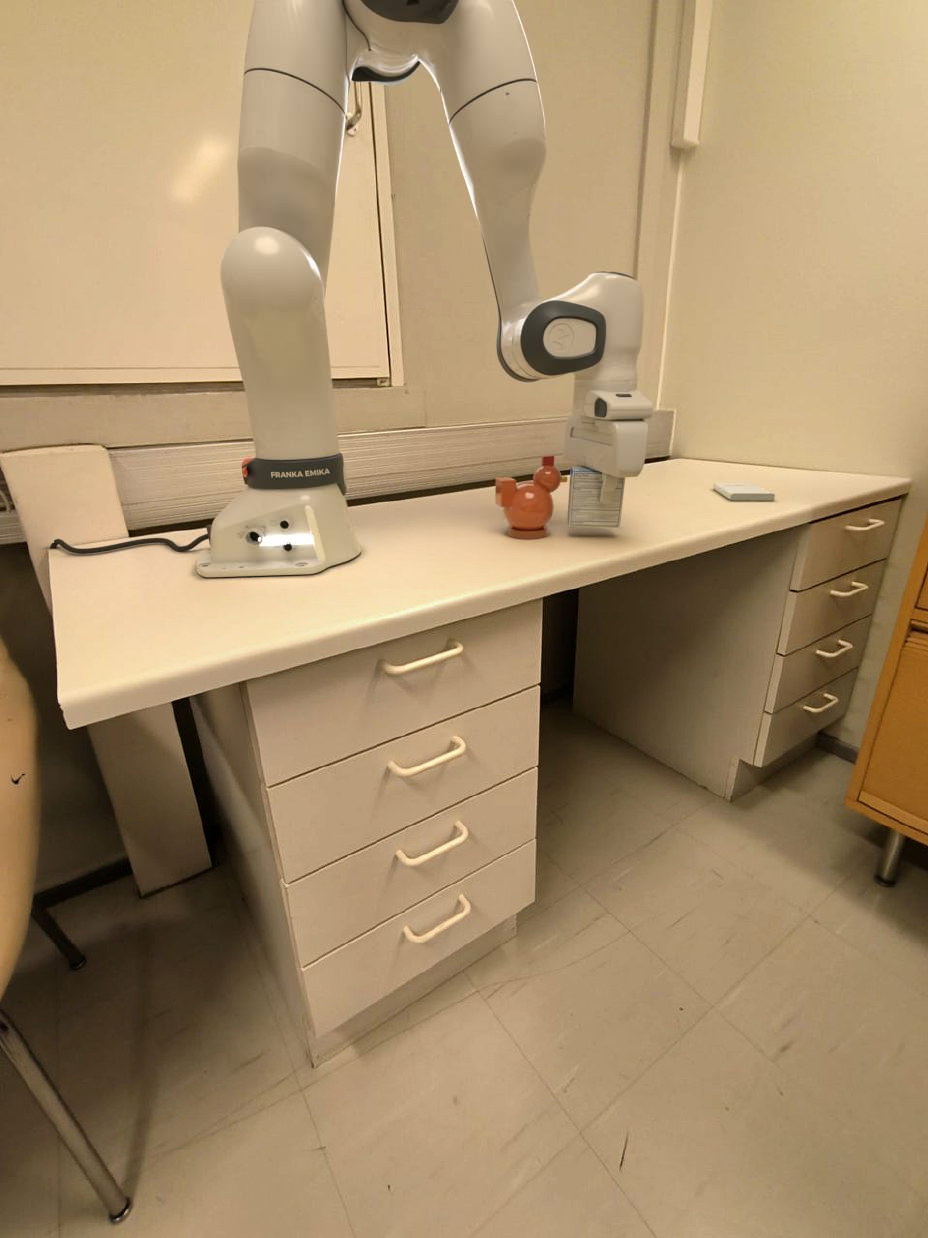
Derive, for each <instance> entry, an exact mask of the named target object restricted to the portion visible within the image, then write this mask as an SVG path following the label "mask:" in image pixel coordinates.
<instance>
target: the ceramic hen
mask: <svg viewBox="0 0 928 1238" xmlns="http://www.w3.org/2000/svg"><path fill="white" fill-rule="evenodd" d="M562 483H568V476H566V475H562V473H561V472H560V469H559V468H558V467H556V466H555V455H554V454H553V455H541V464H540V466H539V467H537V469H536V470H535V471H534V473H533V476H532V480H525V481H521V482H518V483H517V479H515V478H513V477H511V476H503V477H495V489H494V491H495V496H494V497H495V499H494V500H495V502H494V503H495V504H496V505H497V506H499V507H500V508H502V509H503V510H502V511H503V515H504V517H505V520H506V522H507V523H508V524H509V525H508V526H507V535H508V536H509V537H511V538H514V539H521V540H536V539H542V538H545V537H547V536H548V534H549V526H548V523H549V522H550V520H551V519H552V517H553V514H554V510H555V503H554V499H553V496H552V494H551V493H553V492H556V490H558V489H559V487H560V485H561V484H562Z"/></svg>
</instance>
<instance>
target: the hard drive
mask: <svg viewBox="0 0 928 1238" xmlns="http://www.w3.org/2000/svg"><path fill="white" fill-rule="evenodd" d="M712 488H713V490H715V492H717V493H719V494H720V495H721V496H723V497H724V498H727V499H728V500H729V501H732V502H773V501H775V497H776V493H774V492H772V491H769V490H767V489H766V488H763V487H761V486H759V485H757V484H756V483H753V482H714V483H713V487H712Z"/></svg>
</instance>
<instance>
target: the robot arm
mask: <svg viewBox="0 0 928 1238" xmlns="http://www.w3.org/2000/svg"><path fill="white" fill-rule="evenodd" d="M244 57H245V58H244V67H243V77H242V90H241V102H240V103H241V105H240V117H239V119H240V120H239V132H238V146H237V159H236V160H237V161H236V172H237V193H238V194H237V195H238V197H237V198H238V201H237V203H238V205H237V206H238V233H237V234H236V235H235V236H234V237H233V238H232V239H231V240H230V241H229V243H228V244H227V245H226V248H225V249H224V252H223V254H222V257H221V262H220V272H219V274H220V277H219V278H220V284H221V285H220V286H221V290H222V295H223V300H224V306H225V310H226V315H227V319H228V324H229V329H230V334H231V338H232V339H231V340H232V342H233V347H234V352H235V356H236V360H237V364H238V368H239V372H240V376H241V380H242V385H243V389H244V393H245V398H246V402H247V403H246V404H247V408H248V409H247V410H248V416H249V421H250V422H249V423H250V428H251V435H252V440H253V446H254V453H255V457H246V458H245V459H244V460H243V461H242V462H241V472H242V479H243V483H244V485H246V487H245V488H243V490H242V491H240V493H238V494H237V495H236V496H235V497H234V498H233V499H232V500H230V502H229V503H228V504H226V506H225V507H224V508H223V509H222V510H221V511H220V512H219V513H218V514H217V515H216V516H215V517H214V519H213V521H212V522H211V523H212V524H207V525H205V528H206V532H207V533H205V534H203V535H200V536H198V537H197V538H195V539H194V540H193V541H192V542H190V543H189V544H186V545H181V546H180V545H177V544H176V543H175V542H174V541H173V540H171V539H169V538H165V537H147V538H141V539H134V540H129V541H124V542H119V543H115V544H108V545H104V546H96V547H89V548H87V547H86V548H85V547H84V548H79V547H74V546H71V545H70V544H68V543H67V542H65V541H64V540H63V539H60V538H56V539H54V540H53V541H54V543H52V542H51V544H50V546H49V549H50V550H55V549H57V548H58V546H60V547H61V548H62V549H64V550H65V551H67V552H70V553H72V554H75V555H76V554H77V555H91V554H92V555H93V554H100V553H106V552H110V551H115V550H116V551H117V550H120V549H125V548H130V547H136V546H141V545H147V544H166V545H168V546H169V547H170V548H171V549H172V550H173V551H175V552H178V553H179V552H180V553H183V552H187V551H190V550H193V549H194V548H195V547H197V546H198V545H199V544H201V543H202V542H204V541H207V540H208V543H209V546H210V548H208V549H206V550H204V552H202V553H201V554H200V555H199V557H198V558H197V560H196V564H195V565H196V572H197V574H199V576H201V577H204V578H226V577H227V578H228V577H230V578H231V577H255V576H256V577H259V576H260V577H261V576H263V577H264V576H290V575H291V576H293V575H295V576H296V575H313V574H317V573H320V572H322V571H324V570H326V569H328V568H330V567H333V566H337V565H339V564H342V563H345V562H347V561H350V560H353V559H354V558H356V557H358V556H359V555H360V554H361V552H362V548H361V546H360V543H359V542H358V539H357V535H356V533H355V530H354V526H353V522H352V519H351V515H350V511H349V505H348V503H347V496H346V494H347V490H348V483H347V481H348V480H347V471H346V470H347V469H346V464H345V460H344V456H343V453H342V452H340V443H339V435H338V425H337V416H336V406H335V397H334V387H333V378H332V368H331V358H330V348H329V340H328V330H327V329H328V328H327V320H326V319H327V318H326V310H325V309H326V308H325V301H326V293H327V292H326V291H327V282H328V273H329V264H330V256H331V248H332V238H333V230H334V229H333V228H334V220H335V213H336V212H335V211H336V202H337V194H338V185H339V178H340V169H341V161H342V153H343V146H344V137H345V129H346V121H347V111H348V104H349V95H350V87H351V83H352V82H354V83H373V84H377V85H381V86H382V85H383V86H394V85H398V84H402V83H403V82H405V81H406V80H408V79H409V78H410V77H411V76H412V75H414V74H415V72H416V71H417V70H418V68H419V67H420V65H421V64H422V65H423V66H424V68H425V69H426V70H427V71H428V72H429V74H430V76H431V77H432V78H433V81H434V82H435V85H436V87H437V90H438V91H439V94H440V95H441V99H442V103H443V108H444V112H445V113H444V114H445V116H446V121H447V124H448V128H449V132H450V135H451V139H452V143H453V146H454V150H455V152H456V157H457V159H458V160H457V161H458V163H459V166H460V169H461V172H462V175H463V178H464V181H465V184H466V187H467V190H468V193H469V197H470V200H471V203H472V206H473V209H474V213H475V216H476V220H477V223H478V226H479V229H480V233H481V237H482V242H483V246H484V247H483V248H484V252H485V257H486V261H487V265H488V270H489V273H490V278H491V284H492V288H493V292H494V296H495V301H496V305H497V313H498V324H497V334H496V343H495V345H496V347H495V349H496V355H497V358H498V359H497V360H498V362H499V364H500V366H501V368H502V369H503V371H504V372H505V373H506V374H507V375H508V376H509V377H510V378H512V379H514V380H516V381H517V382H520V383H534V382H538V381H541V380H548V379H555V378H560V377H564V376H566V375H568V374H573V376H574V380H573V381H574V382H573V383H574V384H573V397H572V410H571V411H572V412H571V414H569V415H568V417H567V419H566V422H565V423H566V424H565V429H564V437H563V446H562V455H563V460H564V461H566V462H568V463H569V462H570V463H572V464H574V465H577V466H576V467H587V468H590V469H593V470H596V471H599V472H602V480H604V481H603V484H602V488H601V490H598V499H597V500H598V501H599V502H601V503H603V504H610V503H612V501H613V492H614V490H615V488H616V486H617V484H618V482H619V478H622V477H625V478H637V477H638V476H640V474H641V473H642V471H643V469H644V465H645V461H646V456H647V455H646V454H647V448H648V440H649V439H648V438H649V425H648V422H647V421H646V420H649V419H651V418H652V416H653V410H654V404H653V402H652V401H651V400H650V399H649V398H647V397H645V395H643V393H642V392H641V391H640V390H639V389H638V381H639V376H638V371H637V370H638V369H637V363H638V357H639V354H640V352H641V349H642V343H643V333H644V332H643V331H644V319H645V317H644V316H645V301H644V292H643V288H642V286H641V285H642V284H641V283H640V282H639V281H638V280H637V279H635V278H634V277H633V276H632V275H629V274H626V273H622V272H617V271H605V270H603V271H595V272H592V273H590V274H588V276H587V277H586V278H585V279H583V280H582V281H581V282H580V283H578V284H576V285H575V286H573V287H571V288H570V289H568V290H566V291H563V292H562V293H560V294H557V295H556V296H554V297H550V298H547V299H545V300H543V299H542V298H541V294H540V289H539V284H538V277H537V272H536V267H535V262H534V256H533V251H532V245H531V240H530V239H531V237H530V220H531V219H530V218H531V213H532V207H533V203H534V199H535V195H536V191H537V189H538V186H539V183H540V179H541V177H542V174H543V172H544V167H545V164H546V160H547V134H546V120H545V112H544V105H543V101H542V95H541V92H540V86H539V82H538V78H537V73H536V68H535V64H534V61H533V56H532V53H531V49H530V46H529V42H528V39H527V35H526V33H525V29H524V26H523V23H522V21H521V17H520V15H519V12H518V9H517V7H516V4H515V2H514V0H254V3H253V7H252V13H251V17H250V22H249V27H248V34H247V41H246V49H245V56H244ZM351 81H352V82H351Z"/></svg>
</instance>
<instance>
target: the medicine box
mask: <svg viewBox="0 0 928 1238" xmlns="http://www.w3.org/2000/svg"><path fill="white" fill-rule="evenodd" d="M569 471H570V474H569V487H568V501H567V519H566V520H567V524H568V527H569V528H603V529H604V528H605V529H606V528H611V529H612V528H615V529H619V528H621V521H622V513H623V512H622V511H623V501H624V495H625V485H626V484H625V483H626V477H622V478H619V482H618V484H617V486H616V488H615V490H614V492H613V501H612V503H610V504H603V503H601V502H599V501H598V500H597V499H598V490H601V488H602V484H603V481H604V480H602V472H599V471H596V470H593V469H590V468H587V467H577V466H572V467H570V470H569Z"/></svg>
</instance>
